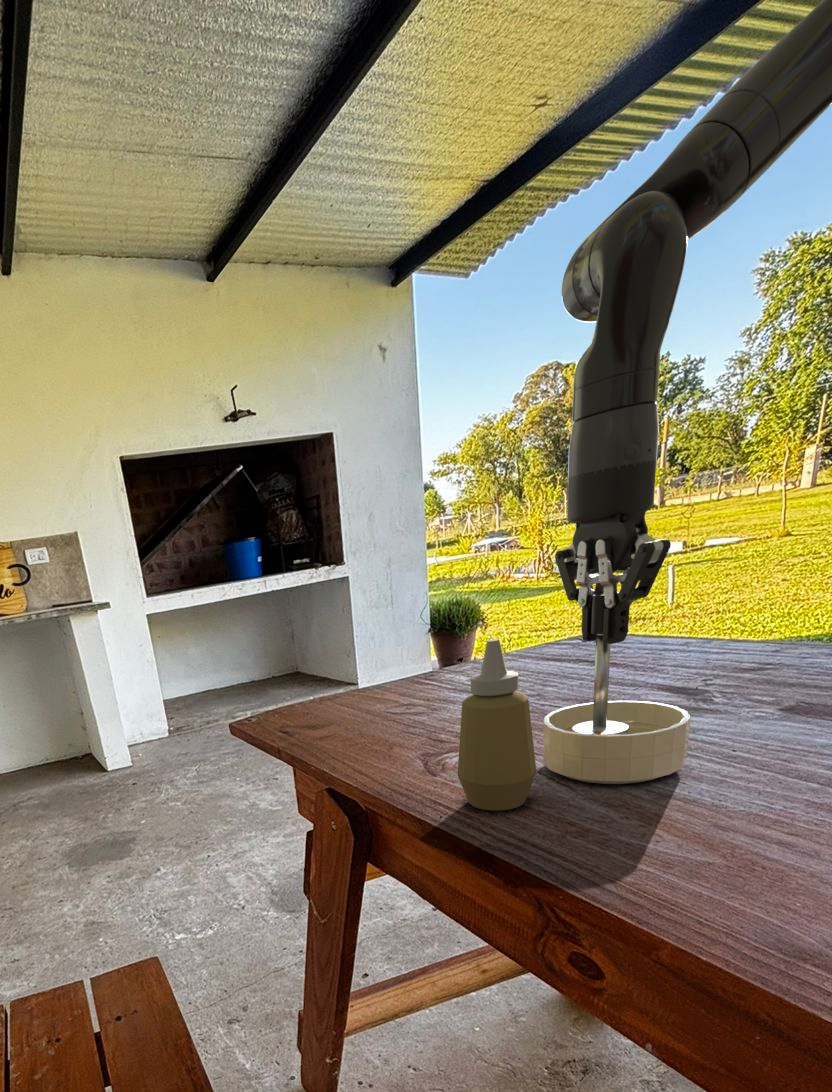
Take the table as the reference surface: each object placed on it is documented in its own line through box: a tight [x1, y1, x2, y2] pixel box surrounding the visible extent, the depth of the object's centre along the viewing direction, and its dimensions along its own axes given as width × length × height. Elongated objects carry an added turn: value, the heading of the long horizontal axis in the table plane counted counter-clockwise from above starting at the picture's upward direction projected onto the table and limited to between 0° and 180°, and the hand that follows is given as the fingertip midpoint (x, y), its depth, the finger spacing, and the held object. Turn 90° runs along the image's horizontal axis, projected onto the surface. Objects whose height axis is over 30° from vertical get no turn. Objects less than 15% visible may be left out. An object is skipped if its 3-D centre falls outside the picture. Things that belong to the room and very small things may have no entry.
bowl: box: [542, 700, 692, 785], centre depth 71 cm, size 14×14×6 cm
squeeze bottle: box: [457, 638, 537, 812], centre depth 66 cm, size 8×8×18 cm
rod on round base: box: [572, 591, 628, 735], centre depth 68 cm, size 6×6×16 cm
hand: (603, 640), depth 67 cm, fingers closed on rod on round base, 2 cm apart
